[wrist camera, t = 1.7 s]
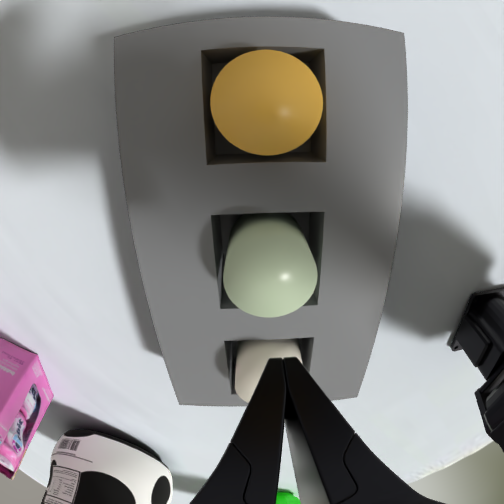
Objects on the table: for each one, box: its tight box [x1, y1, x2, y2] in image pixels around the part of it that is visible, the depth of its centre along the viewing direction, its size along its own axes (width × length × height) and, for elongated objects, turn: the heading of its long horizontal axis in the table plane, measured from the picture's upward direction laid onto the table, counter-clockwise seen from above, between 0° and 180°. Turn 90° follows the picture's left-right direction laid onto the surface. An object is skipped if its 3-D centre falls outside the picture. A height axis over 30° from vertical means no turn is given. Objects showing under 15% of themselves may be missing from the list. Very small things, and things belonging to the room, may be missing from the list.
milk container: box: [41, 430, 173, 504], centre depth 24 cm, size 17×17×18 cm
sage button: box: [223, 212, 318, 318], centre depth 15 cm, size 4×4×4 cm
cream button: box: [235, 338, 302, 403], centre depth 18 cm, size 4×4×4 cm
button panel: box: [114, 17, 408, 406], centre depth 16 cm, size 13×23×4 cm, turn 2°
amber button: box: [210, 50, 323, 156], centre depth 12 cm, size 4×4×4 cm
